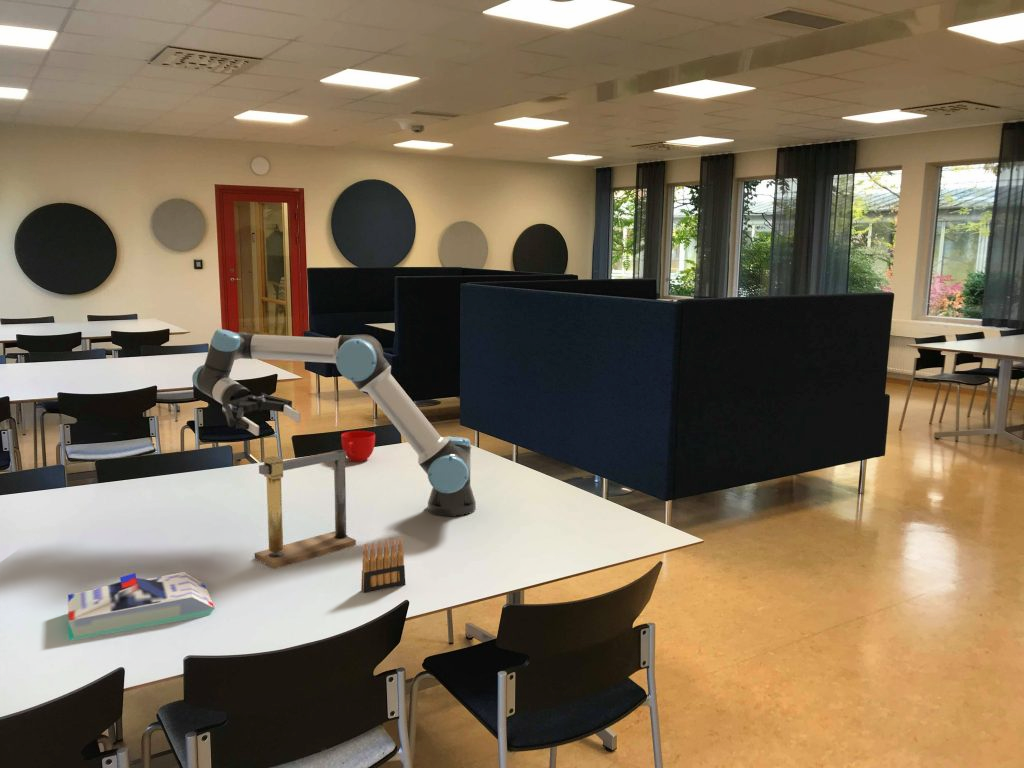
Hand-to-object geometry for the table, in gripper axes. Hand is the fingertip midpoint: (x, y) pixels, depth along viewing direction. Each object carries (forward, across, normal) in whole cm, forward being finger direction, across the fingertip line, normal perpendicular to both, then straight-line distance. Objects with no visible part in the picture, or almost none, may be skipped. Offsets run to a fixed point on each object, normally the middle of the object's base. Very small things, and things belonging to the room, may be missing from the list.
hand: (279, 424), depth 222 cm
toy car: (+20, +51, -25) cm, 60 cm away
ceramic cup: (-40, -69, -54) cm, 96 cm away
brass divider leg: (+17, +12, -27) cm, 34 cm away
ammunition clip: (+51, +6, -20) cm, 55 cm away
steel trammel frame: (+19, +3, -28) cm, 34 cm away
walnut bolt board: (+19, +4, -29) cm, 35 cm away
